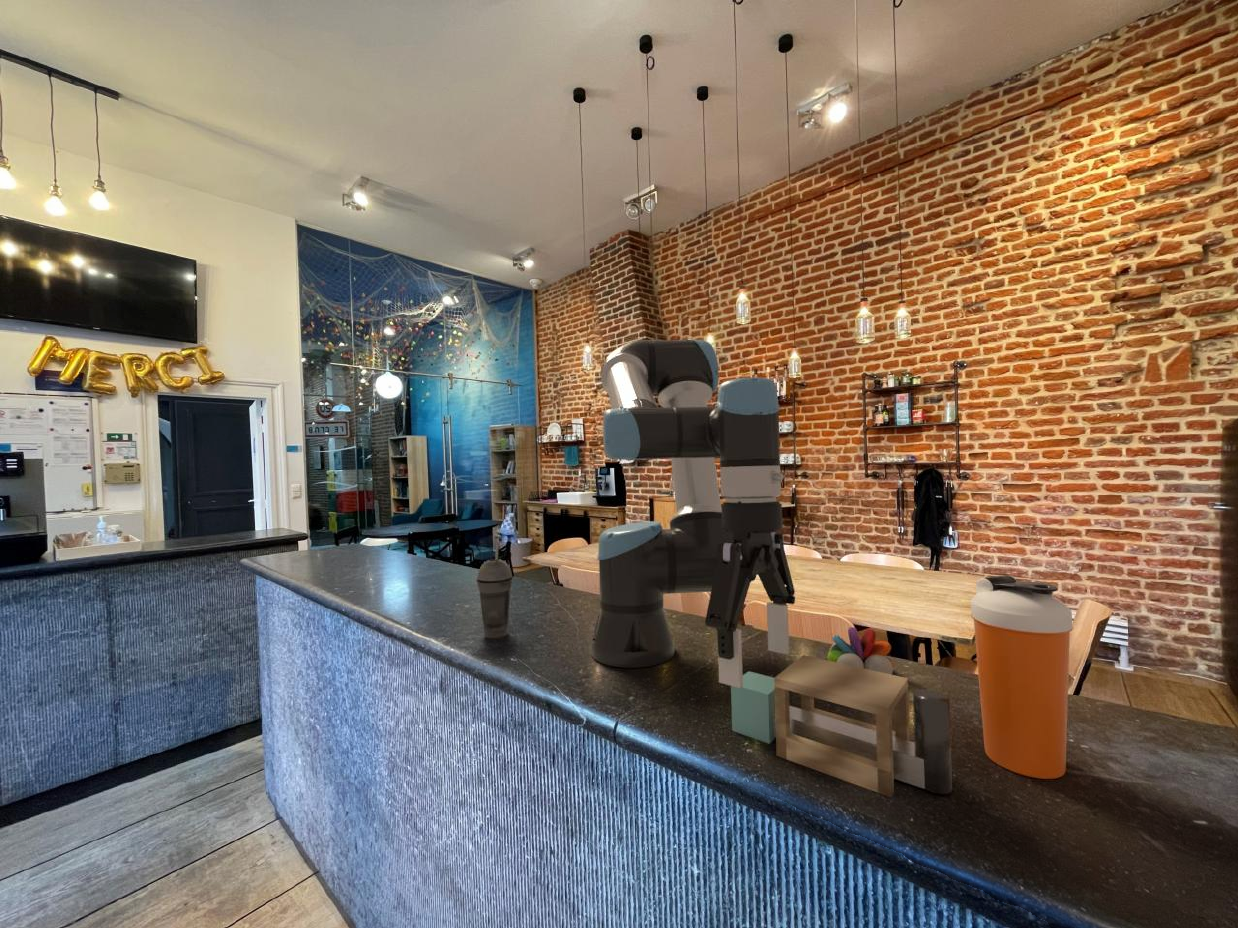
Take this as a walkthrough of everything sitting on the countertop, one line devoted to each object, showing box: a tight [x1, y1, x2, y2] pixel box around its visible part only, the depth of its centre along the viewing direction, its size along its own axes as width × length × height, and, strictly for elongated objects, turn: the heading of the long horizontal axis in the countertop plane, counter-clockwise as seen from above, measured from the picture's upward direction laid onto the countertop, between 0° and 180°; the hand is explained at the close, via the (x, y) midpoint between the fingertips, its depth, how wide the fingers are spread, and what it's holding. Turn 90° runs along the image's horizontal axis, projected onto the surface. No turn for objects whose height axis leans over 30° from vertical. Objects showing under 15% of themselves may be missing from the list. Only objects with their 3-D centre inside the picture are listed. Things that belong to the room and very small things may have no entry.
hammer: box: [772, 689, 953, 795], centre depth 57 cm, size 18×3×9 cm, turn 49°
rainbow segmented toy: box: [826, 626, 895, 675], centre depth 81 cm, size 8×10×7 cm
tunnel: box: [773, 654, 911, 798], centre depth 58 cm, size 12×9×9 cm
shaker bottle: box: [970, 575, 1073, 780], centre depth 57 cm, size 9×9×20 cm
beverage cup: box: [476, 537, 514, 639], centre depth 105 cm, size 7×7×20 cm
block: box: [730, 670, 776, 745], centre depth 65 cm, size 5×5×6 cm
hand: (756, 667), depth 65 cm, fingers open, 13 cm apart
